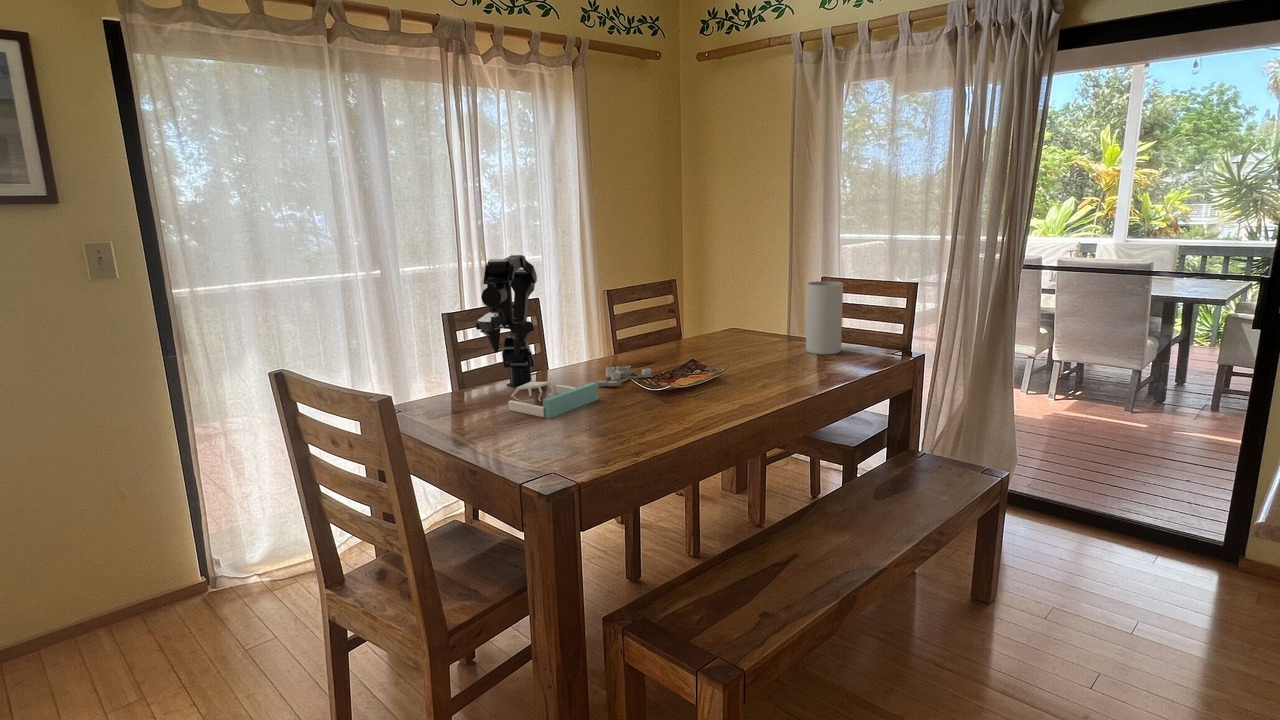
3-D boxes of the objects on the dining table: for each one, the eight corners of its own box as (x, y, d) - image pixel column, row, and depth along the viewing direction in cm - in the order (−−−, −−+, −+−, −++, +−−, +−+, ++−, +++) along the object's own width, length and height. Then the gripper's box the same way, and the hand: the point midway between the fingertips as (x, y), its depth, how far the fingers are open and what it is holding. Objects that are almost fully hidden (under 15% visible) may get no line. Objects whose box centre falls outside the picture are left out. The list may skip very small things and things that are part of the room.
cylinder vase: (806, 355, 254) (808, 285, 249) (804, 347, 266) (806, 281, 261) (842, 355, 252) (845, 285, 247) (839, 347, 264) (841, 281, 259)
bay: (508, 409, 200) (507, 392, 199) (558, 392, 216) (557, 376, 215) (549, 418, 191) (548, 400, 190) (598, 399, 207) (597, 383, 206)
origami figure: (538, 393, 216) (537, 377, 215) (555, 398, 211) (554, 382, 209) (506, 402, 208) (504, 386, 207) (523, 407, 202) (522, 390, 201)
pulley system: (582, 383, 230) (603, 390, 217) (581, 369, 229) (603, 375, 216) (654, 373, 243) (678, 380, 230) (654, 360, 242) (678, 365, 230)
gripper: (459, 304, 206) (464, 356, 210) (505, 308, 196) (509, 362, 200) (487, 299, 215) (491, 349, 219) (533, 302, 205) (536, 355, 208)
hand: (506, 354), depth 211 cm, fingers open, 8 cm apart
